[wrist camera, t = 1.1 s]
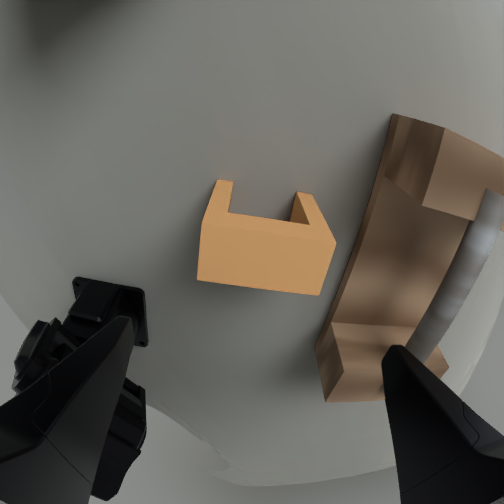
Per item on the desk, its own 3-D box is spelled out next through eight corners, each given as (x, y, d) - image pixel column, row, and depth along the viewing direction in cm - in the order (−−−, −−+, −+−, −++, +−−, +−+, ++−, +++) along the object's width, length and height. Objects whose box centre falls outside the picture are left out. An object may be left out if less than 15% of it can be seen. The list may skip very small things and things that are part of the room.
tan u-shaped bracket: (311, 194, 19) (336, 243, 13) (301, 235, 21) (318, 295, 15) (217, 179, 19) (201, 222, 13) (212, 222, 20) (197, 279, 14)
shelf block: (405, 349, 27) (428, 404, 21) (314, 346, 26) (327, 412, 20) (493, 157, 17) (555, 191, 11) (392, 113, 16) (456, 132, 10)
